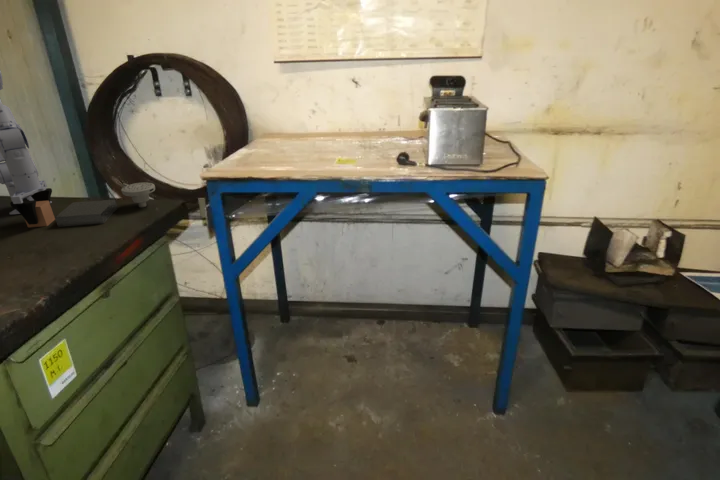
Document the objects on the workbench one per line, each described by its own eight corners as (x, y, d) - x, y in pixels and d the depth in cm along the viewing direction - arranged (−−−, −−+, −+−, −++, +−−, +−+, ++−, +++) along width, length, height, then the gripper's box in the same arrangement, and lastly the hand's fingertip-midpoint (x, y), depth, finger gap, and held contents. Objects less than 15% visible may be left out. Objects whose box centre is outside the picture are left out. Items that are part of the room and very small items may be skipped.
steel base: (75, 211, 130) (72, 202, 129) (117, 208, 132) (114, 199, 131) (58, 226, 120) (54, 217, 118) (103, 223, 122) (100, 213, 120)
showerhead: (132, 178, 136) (160, 180, 134) (138, 199, 139) (164, 201, 137) (111, 188, 128) (140, 189, 126) (117, 210, 131) (146, 212, 129)
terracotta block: (36, 220, 124) (29, 201, 122) (55, 219, 125) (48, 200, 122) (27, 227, 120) (20, 207, 117) (47, 226, 120) (40, 206, 118)
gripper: (25, 180, 110) (43, 227, 116) (51, 165, 123) (66, 208, 129) (-5, 181, 109) (14, 229, 115) (24, 166, 122) (40, 210, 128)
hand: (40, 218), depth 122 cm, fingers open, 7 cm apart
